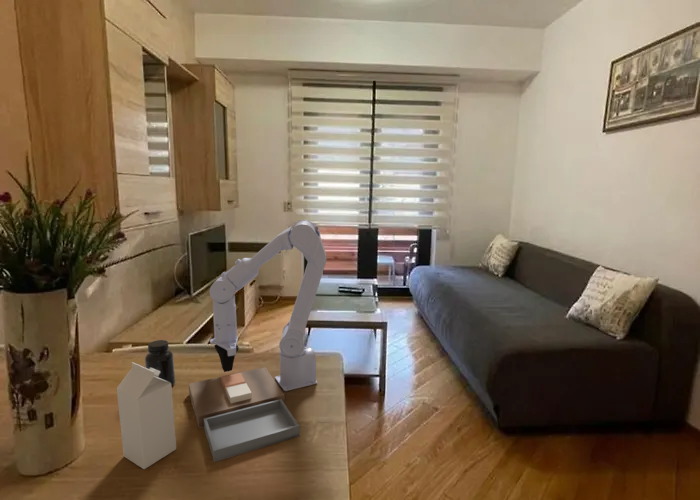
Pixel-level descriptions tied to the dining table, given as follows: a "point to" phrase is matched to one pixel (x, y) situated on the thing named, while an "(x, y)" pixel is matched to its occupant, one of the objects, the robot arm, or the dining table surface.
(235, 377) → the terracotta tile
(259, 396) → the plate
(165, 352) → the supplement bottle
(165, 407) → the milk carton
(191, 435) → the dining table surface
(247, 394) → the cream tile
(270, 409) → the tray
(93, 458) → the dining table surface
